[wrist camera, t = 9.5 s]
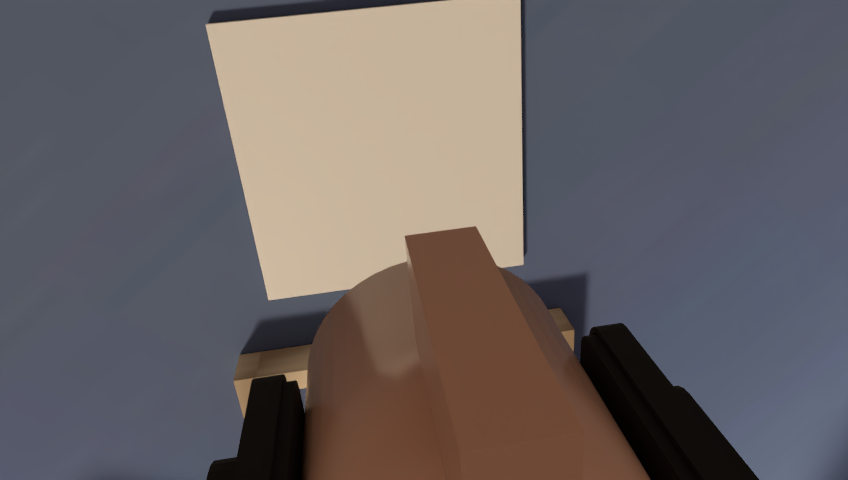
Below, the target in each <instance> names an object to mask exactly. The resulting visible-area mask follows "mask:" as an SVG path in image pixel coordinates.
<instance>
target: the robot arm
mask: <svg viewBox="0 0 848 480" xmlns="http://www.w3.org/2000/svg"><path fill="white" fill-rule="evenodd" d="M580 364H581V365H582V367H583V369H584V370H585V372H586V374H587V375H588V377H589V379H590V380H591V382H592V384H593V385H594V387H595V388H596V390H597V392H598V393H599V395H600V397H601V398H602V400H603V402H604V403H605V405H606V407H607V408H608V410H609V412H610V413H611V415H612V417H613V418H614V420H615V422H616V423H617V425H618V426H619V428H620V430H621V431H622V433H623V435H624V436H625V438H626V440H627V441H628V443H629V445H630V446H631V448H632V450H633V451H634V453H635V455H636V456H637V458H638V460H639V461H640V463H641V464H642V466H643V468H644V469H645V471H646V473H647V474H648V476H649V478H650V479H651V480H759V479H758V478H757V476H756V475H755V474H754V473H753V471H752V470H751V469H750V468H749V467H748V465H747V464H746V463H745V462H744V460H743V459H742V458H741V457H740V455H739V454H738V453H737V452H736V451H735V449H734V448H733V447H732V446H731V444H730V443H729V442H728V441H727V439H726V438H725V437H724V436H723V434H722V433H721V432H720V431H719V430H718V428H717V427H716V426H715V425H714V423H713V422H712V421H711V420H710V418H709V417H708V416H707V415H706V414H705V412H704V411H703V410H702V409H701V407H700V406H699V405H698V404H697V402H696V401H695V400H694V399H693V398H692V396H691V395H690V394H689V393H688V392H687V391H686V390H685V389H684V388H682V387H680V386H673V385H672V384H671V383H670V382H669V380H668V379H667V378H666V377H665V375H664V374H663V373H662V372H661V370H660V369H659V368H658V366H657V365H656V364H655V363H654V361H653V360H652V359H651V358H650V356H649V355H648V354H647V352H646V351H645V350H644V349H643V347H642V346H641V345H640V344H639V342H638V341H637V340H636V339H635V337H634V336H633V335H632V333H631V332H630V331H629V330H628V328H627V327H626V326H625V325H624V324H622V323H618V324H611V325H604V326H598V327H593V328H591V330H590V334H589V336H584V337H582V340H581V358H580ZM304 420H305V413H304V408H303V404H302V399H301V395H300V390H299V386H298V382H297V381H296V380H294V381H288V382H287V380H286V377H285V375H284V374H280V375H274V376H267V377H260V378H254V379H253V380H252V382H251V386H250V392H249V397H248V402H247V407H246V413H245V418H244V423H243V428H242V434H241V439H240V444H239V449H238V454H237V457H235V458H229V459H222V460H216V461H214V462H213V463H212V464H211V466H210V469H209V472H208V476H207V480H301V470H302V453H303V437H304Z"/></svg>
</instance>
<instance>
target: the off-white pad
mask: <svg viewBox="0 0 848 480" xmlns="http://www.w3.org/2000/svg"><path fill="white" fill-rule="evenodd" d="M206 29H207V33H208V38H209V42H210V46H211V51H212V55H213V59H214V64H215V68H216V73H217V77H218V81H219V86H220V90H221V94H222V99H223V103H224V107H225V112H226V116H227V121H228V125H229V129H230V134H231V138H232V142H233V147H234V151H235V155H236V160H237V164H238V169H239V173H240V177H241V182H242V186H243V190H244V195H245V199H246V204H247V208H248V212H249V217H250V221H251V225H252V230H253V234H254V238H255V243H256V247H257V252H258V256H259V260H260V265H261V269H262V273H263V278H264V282H265V287H266V291H267V295H268V300H274V299H282V298H289V297H296V296H303V295H310V294H317V293H325V292H332V291H339V290H346V289H352V288H353V287H355V286H356V285H357V284H359V283H360V282H362V281H363V280H365V279H367V278H368V277H370V276H372V275H373V274H375V273H377V272H380V271H382V270H384V269H386V268H388V267H391V266H394V265H397V264H400V263H403V262H406V261H407V255H406V246H405V236H406V235H414V234H421V233H428V232H436V231H443V230H451V229H458V228H466V227H473V226H476V227H477V229H478V231H479V233H480V235H481V237H482V239H483V241H484V242H485V244H486V246H487V248H488V250H489V252H490V254H491V256H492V258H493V259H494V261H495V263H496V265H497V266H498V267H501V268H504V267H511V266H518V265H523V180H522V89H521V0H440V1H430V2H419V3H409V4H399V5H389V6H379V7H369V8H359V9H349V10H339V11H329V12H319V13H309V14H299V15H289V16H279V17H269V18H258V19H248V20H238V21H228V22H218V23H208V24H206Z"/></svg>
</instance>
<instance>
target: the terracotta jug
mask: <svg viewBox="0 0 848 480" xmlns="http://www.w3.org/2000/svg"><path fill="white" fill-rule="evenodd" d="M405 246H406V255H407V261H406V262H403V263H400V264H397V265H394V266H391V267H388V268H386V269H384V270H382V271H380V272H377V273H375V274H373V275H372V276H370V277H368V278H367V279H365V280H363V281H362V282H360V283H359V284H357V285H356V286H355V287H353V288H352V289H351V290H350V291H348V292H347V293H346V294H345V295H344V296H343V297H342V298H341V299H340V300H339V301H338V302H337V303H336V304H335V305H334V306H333V307H332V308H331V310H330V311H329V312H328V314H327V315H326V317H325V318H324V319H323V321H322V323H321V325H320V327H319V328H318V330H317V332H316V334H315V337H314V340H313V343H312V345H311V349H310V354H309V359H308V371H307V388H306V404H305V420H304V437H303V453H302V470H301V480H651V479H650V478H649V476H648V474H647V473H646V471H645V469H644V468H643V466H642V464H641V463H640V461H639V460H638V458H637V456H636V455H635V453H634V451H633V450H632V448H631V446H630V445H629V443H628V441H627V440H626V438H625V436H624V435H623V433H622V431H621V430H620V428H619V426H618V425H617V423H616V422H615V420H614V418H613V417H612V415H611V413H610V412H609V410H608V408H607V407H606V405H605V403H604V402H603V400H602V398H601V397H600V395H599V393H598V392H597V390H596V388H595V387H594V385H593V384H592V382H591V380H590V379H589V377H588V375H587V374H586V372H585V370H584V369H583V367H582V365H581V364H580V362H579V360H578V359H577V357H576V355H575V354H574V352H573V350H572V349H571V347H570V346H569V344H568V342H567V341H566V339H565V337H564V336H563V334H562V332H561V331H560V329H559V327H558V326H557V324H556V322H555V321H554V319H553V317H552V316H551V314H550V312H549V311H548V309H547V308H546V306H545V304H544V303H543V301H542V299H541V298H540V297H539V296H538V295H537V294H536V292H535V291H534V290H533V289H532V288H531V287H530V286H529V285H527V284H526V283H525V282H524V281H523V280H522V279H520V278H519V277H517V276H515V275H514V274H512V273H511V272H509V271H507V270H505V269H503V268H501V267H498V266H497V265H496V263H495V261H494V259H493V258H492V256H491V254H490V252H489V250H488V248H487V246H486V244H485V242H484V241H483V239H482V237H481V235H480V233H479V231H478V229H477V227H476V226H473V227H466V228H458V229H451V230H443V231H436V232H428V233H421V234H414V235H406V236H405Z"/></svg>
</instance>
